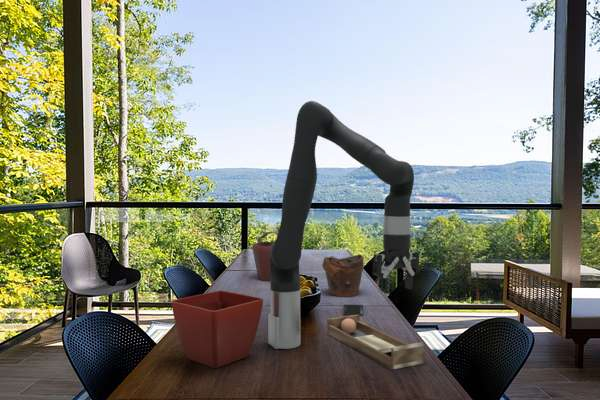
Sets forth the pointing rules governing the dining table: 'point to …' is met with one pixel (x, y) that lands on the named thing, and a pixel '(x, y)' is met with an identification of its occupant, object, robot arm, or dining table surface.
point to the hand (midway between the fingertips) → (396, 289)
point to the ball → (348, 326)
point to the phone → (353, 310)
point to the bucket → (263, 257)
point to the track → (377, 344)
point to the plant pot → (217, 326)
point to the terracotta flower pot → (343, 275)
